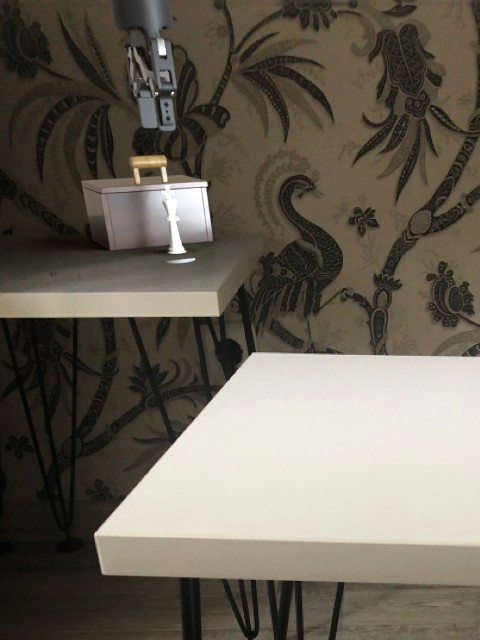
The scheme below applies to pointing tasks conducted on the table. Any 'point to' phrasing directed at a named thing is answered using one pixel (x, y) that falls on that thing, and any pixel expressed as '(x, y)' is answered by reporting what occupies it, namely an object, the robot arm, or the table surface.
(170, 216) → the chess piece
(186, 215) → the chess box
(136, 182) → the chess box lid
